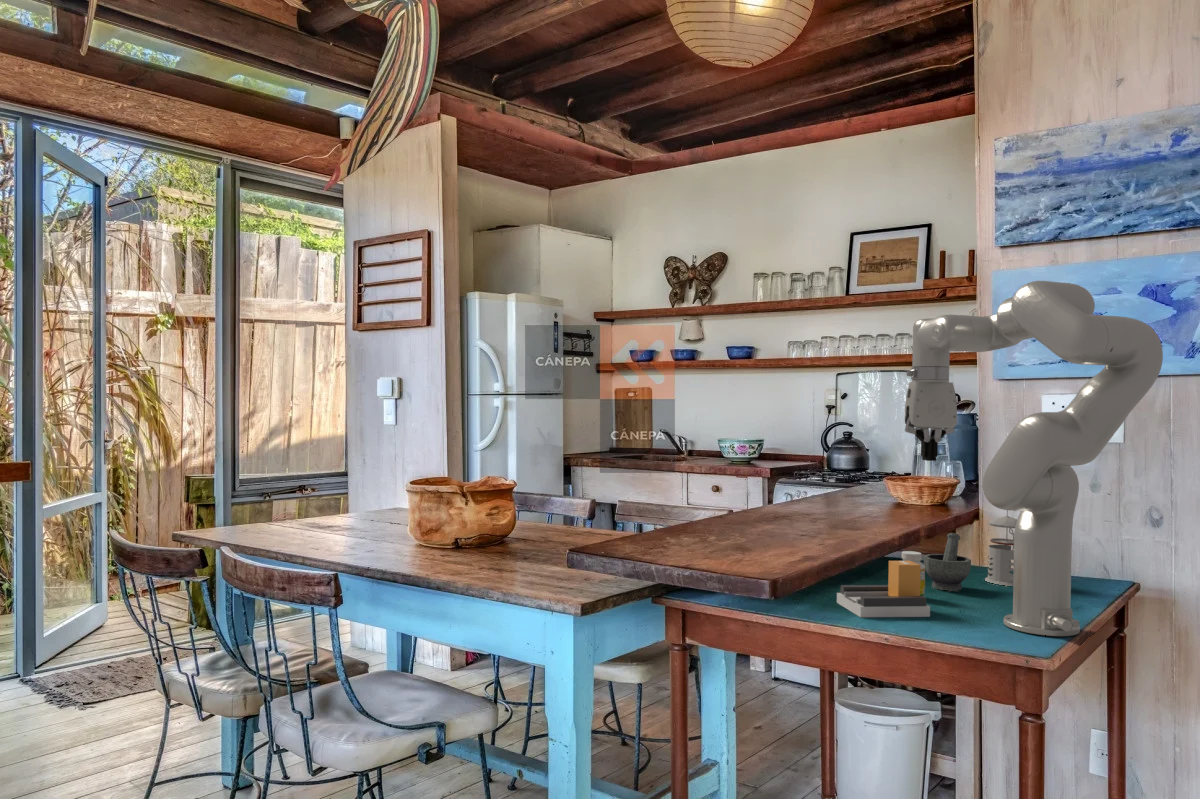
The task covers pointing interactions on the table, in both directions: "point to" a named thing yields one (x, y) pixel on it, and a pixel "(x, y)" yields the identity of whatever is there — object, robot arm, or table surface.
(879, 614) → the breaker panel
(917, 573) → the orange rectangular block
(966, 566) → the mortar and pestle
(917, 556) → the supplement bottle
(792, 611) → the table surface
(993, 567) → the french press
